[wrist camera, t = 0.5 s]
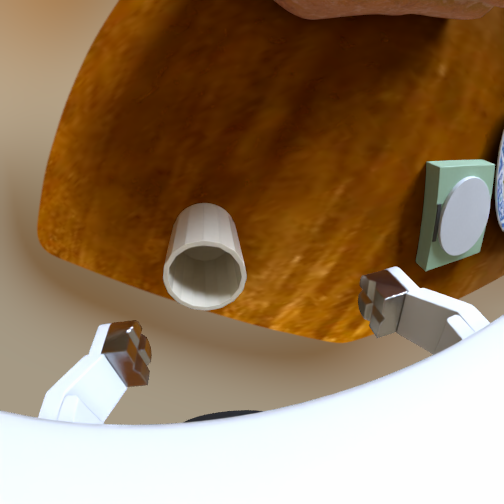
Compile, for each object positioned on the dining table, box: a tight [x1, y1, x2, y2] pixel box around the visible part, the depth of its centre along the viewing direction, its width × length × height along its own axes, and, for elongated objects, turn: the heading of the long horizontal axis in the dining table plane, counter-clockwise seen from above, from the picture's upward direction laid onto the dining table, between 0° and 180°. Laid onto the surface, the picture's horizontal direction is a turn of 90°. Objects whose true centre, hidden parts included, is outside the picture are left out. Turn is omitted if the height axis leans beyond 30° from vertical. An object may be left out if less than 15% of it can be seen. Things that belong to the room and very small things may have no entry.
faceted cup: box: [163, 203, 247, 311], centre depth 24 cm, size 6×6×8 cm
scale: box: [416, 160, 495, 271], centre depth 30 cm, size 14×13×3 cm
